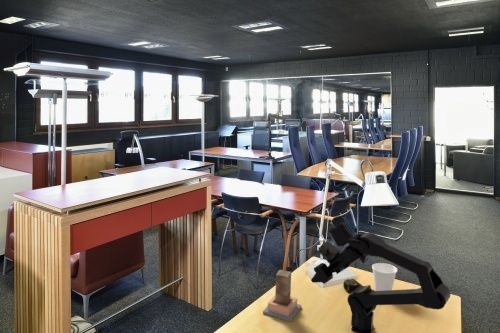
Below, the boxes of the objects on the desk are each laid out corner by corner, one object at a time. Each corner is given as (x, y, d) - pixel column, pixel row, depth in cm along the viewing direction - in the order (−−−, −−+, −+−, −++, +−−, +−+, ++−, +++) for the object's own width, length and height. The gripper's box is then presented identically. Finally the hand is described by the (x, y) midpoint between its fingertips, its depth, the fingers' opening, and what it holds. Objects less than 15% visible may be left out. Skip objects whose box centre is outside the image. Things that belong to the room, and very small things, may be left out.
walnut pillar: (290, 306, 142) (291, 271, 140) (286, 312, 138) (287, 276, 136) (278, 303, 144) (279, 269, 142) (275, 309, 140) (275, 274, 138)
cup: (380, 300, 149) (382, 274, 148) (365, 289, 159) (366, 264, 157) (400, 296, 152) (402, 271, 151) (384, 285, 162) (386, 261, 160)
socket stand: (301, 307, 144) (301, 297, 143) (290, 321, 134) (290, 311, 133) (275, 300, 149) (275, 290, 148) (262, 313, 139) (263, 303, 138)
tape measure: (363, 292, 156) (363, 284, 155) (348, 295, 154) (349, 286, 153) (353, 285, 162) (354, 277, 161) (340, 287, 160) (340, 279, 159)
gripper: (345, 230, 141) (318, 251, 149) (320, 244, 127) (291, 266, 135) (363, 256, 137) (335, 275, 146) (340, 273, 123) (309, 293, 132)
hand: (318, 276), depth 140 cm, fingers open, 9 cm apart
